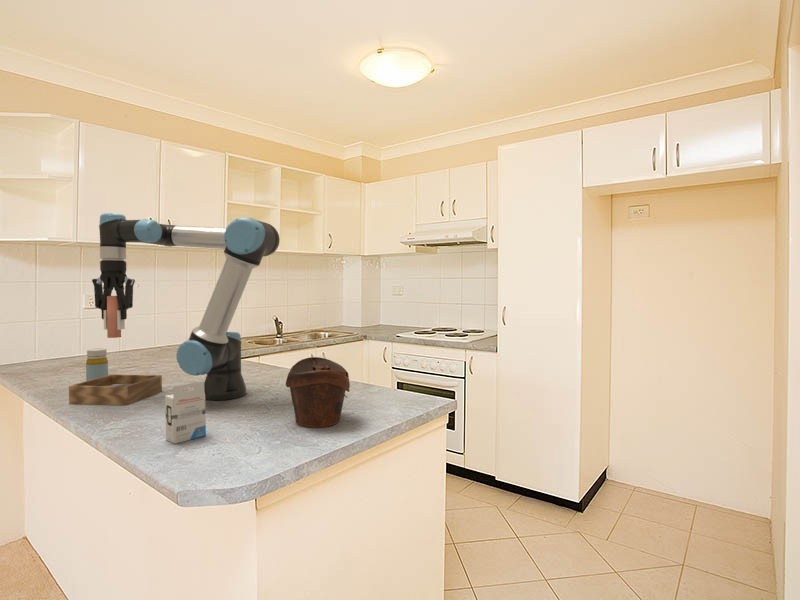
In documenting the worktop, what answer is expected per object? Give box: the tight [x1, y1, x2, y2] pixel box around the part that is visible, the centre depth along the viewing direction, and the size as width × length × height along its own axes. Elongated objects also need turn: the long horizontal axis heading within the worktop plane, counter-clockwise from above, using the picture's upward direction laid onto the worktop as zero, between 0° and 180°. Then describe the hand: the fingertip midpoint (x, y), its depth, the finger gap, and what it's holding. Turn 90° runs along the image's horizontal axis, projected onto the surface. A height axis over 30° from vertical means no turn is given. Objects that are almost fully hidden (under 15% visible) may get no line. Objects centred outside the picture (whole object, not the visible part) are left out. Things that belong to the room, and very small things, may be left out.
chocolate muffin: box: [285, 356, 351, 429], centre depth 134 cm, size 18×20×18 cm
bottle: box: [85, 347, 109, 381], centre depth 175 cm, size 7×7×15 cm
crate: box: [68, 373, 163, 406], centre depth 162 cm, size 20×20×6 cm
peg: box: [106, 295, 122, 339], centre depth 155 cm, size 4×4×14 cm
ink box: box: [164, 380, 207, 444], centre depth 120 cm, size 8×5×15 cm, turn 140°
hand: (114, 329), depth 156 cm, fingers closed on peg, 4 cm apart
